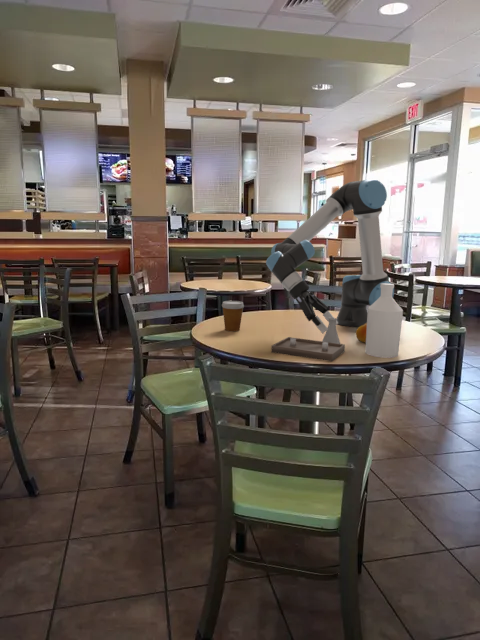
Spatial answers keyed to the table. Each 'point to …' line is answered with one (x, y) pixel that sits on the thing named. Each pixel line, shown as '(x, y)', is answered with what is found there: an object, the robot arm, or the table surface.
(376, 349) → the bottle
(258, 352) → the table surface
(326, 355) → the caddy tray
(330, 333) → the flask
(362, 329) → the fruit
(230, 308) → the disposable coffee cup
